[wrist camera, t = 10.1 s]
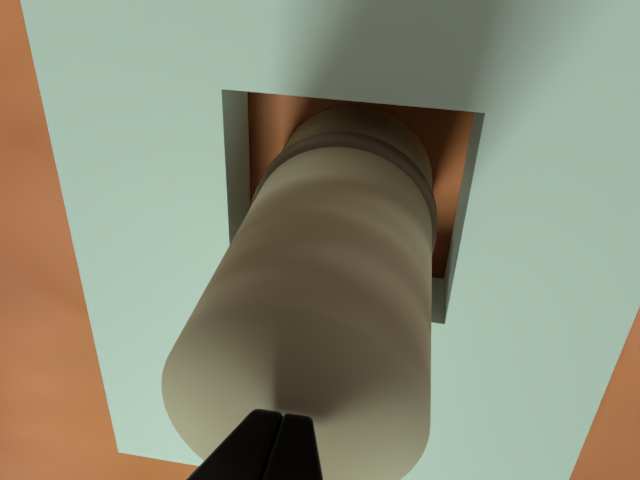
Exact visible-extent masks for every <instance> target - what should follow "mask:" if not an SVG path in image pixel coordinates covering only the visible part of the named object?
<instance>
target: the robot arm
mask: <svg viewBox="0 0 640 480" xmlns="http://www.w3.org/2000/svg"><path fill="white" fill-rule="evenodd" d="M187 480H323V475H322V469H321V464H320V458H319V452H318V447H317V441H316V435H315V430H314V424H313V420H312V418H310V417H309V416H303V415H297V414H290V413H287V414H285V415H284V416H282V414H281V413H280V412H278V411H271V410H265V409H255V410H253V411H251V412H250V413H249V414H248V415H247V416H246V417H245V418H244V420H243V421H242V422H241V423H240V424H239V425H238V426H237V427H236V428H235V429H234V430H233V431H232V432H231V433H230V434H229V435H228V436H227V437H226V438H225V440H224V441H223V442H222V443H221V444H220V445H219V446H218V447H217V448H216V449H215V450H214V451H213V452H212V453H211V454H210V455H209V456H208V457H207V458H206V460H205V461H204V462H203V463H202V464H201V465H200V466H199V467H198V468H197V469H196V470H195V471H194V472H193V473H192V474H191V475H190V476H189V477H188V478H187Z"/></svg>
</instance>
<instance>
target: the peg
mask: <svg viewBox="0 0 640 480" xmlns="http://www.w3.org/2000/svg"><path fill="white" fill-rule="evenodd" d="M432 183H433V179H432V168H431V163H430V159H429V157H428V154H427V151H426V149H425V148H424V146H423V144H422V142H421V141H420V139H419V138H418V137H417V135H416V134H415V133H414V132H413V131H412V130H411V129H410V128H409V127H408V126H407V125H405V124H404V123H403V122H402V121H400V120H399V119H397V118H395V117H394V116H392V115H390V114H388V113H386V112H383V111H381V110H378V109H374V108H371V107H364V106H340V107H335V108H331V109H327V110H325V111H322V112H319V113H317V114H316V115H314V116H312V117H310V118H309V119H307V120H306V121H305V122H303V123H302V124H301V125H300V126H299V127H298V128H297V129H296V130H295V131H294V133H293V134H292V135H291V137H290V138H289V140H288V141H287V143H286V145H285V147H284V149H283V150H282V152H281V153H280V154H279V155H278V156H277V157H276V158H275V159H274V160H273V162H272V163H271V164H270V166H269V167H268V168H267V170H266V172H265V173H264V175H263V177H262V179H261V180H260V182H259V184H258V186H257V188H256V190H255V193H254V196H253V198H252V203H251V208H250V210H249V211H248V213H247V215H246V217H245V219H244V220H243V222H242V224H241V226H240V228H239V229H238V231H237V233H236V235H235V237H234V238H233V240H232V242H231V244H230V246H229V247H228V249H227V251H226V253H225V255H224V256H223V258H222V260H221V262H220V264H219V265H218V267H217V269H216V271H215V273H214V274H213V276H212V278H211V280H210V282H209V283H208V285H207V287H206V289H205V290H204V292H203V294H202V296H201V298H200V299H199V301H198V303H197V305H196V307H195V308H194V310H193V312H192V314H191V316H190V317H189V319H188V321H187V323H186V325H185V326H184V328H183V330H182V332H181V334H180V335H179V337H178V339H177V341H176V343H175V344H174V346H173V348H172V350H171V352H170V353H169V355H168V357H167V359H166V362H165V365H164V368H163V373H162V381H161V386H162V397H163V401H164V405H165V409H166V411H167V414H168V416H169V419H170V421H171V422H172V424H173V426H174V428H175V429H176V431H177V432H178V434H179V435H180V436H181V438H182V439H183V440H184V442H185V443H186V444H187V445H188V446H189V447H190V448H191V449H192V450H193V451H194V453H196V454H197V455H198V456H199V457H200V458H201V459H203V460H204V461H205V460H206V458H207V457H208V456H209V455H210V454H211V453H212V452H213V451H214V450H215V449H216V448H217V447H218V446H219V445H220V444H221V443H222V442H223V441H224V440H225V438H226V437H227V436H228V435H229V434H230V433H231V432H232V431H233V430H234V429H235V428H236V427H237V426H238V425H239V424H240V423H241V422H242V421H243V420H244V418H245V417H246V416H247V415H248V414H249V413H250V412H251V411H253V410H255V409H265V410H271V411H278V412H280V413H281V414H282V416H284V415H285V414H287V413H290V414H297V415H303V416H309V417H310V418H312V420H313V424H314V430H315V435H316V441H317V447H318V452H319V458H320V464H321V469H322V475H323V480H400V479H402V478H403V477H404V476H405V475H406V474H408V473H409V472H410V471H411V470H412V469H413V468H414V466H415V465H416V464H417V462H418V461H419V460H420V458H421V456H422V454H423V453H424V451H425V449H426V446H427V442H428V439H429V434H430V424H431V304H432V254H433V251H434V247H435V243H436V234H437V214H436V204H435V200H434V195H433V193H432Z"/></svg>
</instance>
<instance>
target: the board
mask: <svg viewBox="0 0 640 480" xmlns="http://www.w3.org/2000/svg"><path fill="white" fill-rule="evenodd" d="M20 1H21V6H22V11H23V15H24V20H25V24H26V29H27V34H28V38H29V43H30V47H31V52H32V57H33V61H34V66H35V70H36V75H37V80H38V84H39V89H40V93H41V98H42V103H43V107H44V112H45V116H46V121H47V126H48V130H49V135H50V139H51V144H52V149H53V153H54V158H55V162H56V167H57V172H58V176H59V181H60V185H61V190H62V195H63V199H64V204H65V208H66V213H67V218H68V222H69V227H70V231H71V236H72V241H73V245H74V250H75V254H76V259H77V264H78V268H79V273H80V277H81V282H82V287H83V291H84V296H85V300H86V305H87V310H88V314H89V319H90V323H91V328H92V333H93V337H94V342H95V346H96V351H97V356H98V360H99V365H100V369H101V374H102V379H103V383H104V388H105V392H106V397H107V402H108V406H109V411H110V415H111V420H112V425H113V429H114V434H115V438H116V443H117V448H118V452H120V453H126V454H131V455H137V456H143V457H149V458H155V459H161V460H167V461H172V462H178V463H184V464H190V465H196V466H200V465H201V464H202V463H203V462H204V460H203V459H201V458H200V457H199V456H198V455H197V454H196V453H194V451H193V450H192V449H191V448H190V447H189V446H188V445H187V444H186V443H185V442H184V440H183V439H182V438H181V436H180V435H179V434H178V432H177V431H176V429H175V428H174V426H173V424H172V422H171V421H170V419H169V416H168V414H167V411H166V409H165V405H164V401H163V397H162V386H161V381H162V373H163V368H164V365H165V362H166V359H167V357H168V355H169V353H170V352H171V350H172V348H173V346H174V344H175V343H176V341H177V339H178V337H179V335H180V334H181V332H182V330H183V328H184V326H185V325H186V323H187V321H188V319H189V317H190V316H191V314H192V312H193V310H194V308H195V307H196V305H197V303H198V301H199V299H200V298H201V296H202V294H203V292H204V290H205V289H206V287H207V285H208V283H209V282H210V280H211V278H212V276H213V274H214V273H215V271H216V269H217V267H218V265H219V264H220V262H221V260H222V258H223V256H224V255H225V253H226V251H227V249H228V247H229V246H230V244H231V242H232V240H233V238H234V237H235V235H236V233H237V231H238V229H239V228H240V226H241V224H242V222H243V220H244V219H245V217H246V215H247V213H248V211H249V210H250V208H251V195H250V160H249V125H248V92H257V93H269V94H280V95H291V96H302V97H313V98H324V99H335V100H346V101H357V102H369V103H380V104H391V105H402V106H413V107H424V108H435V109H446V110H457V111H469V112H474V115H473V121H472V126H471V132H470V137H469V143H468V148H467V154H466V159H465V165H464V170H463V176H462V181H461V187H460V193H459V198H458V204H457V209H456V215H455V220H454V226H453V231H452V237H451V242H450V248H449V253H448V259H447V264H446V270H445V276H444V279H443V278H435V277H432V304H431V424H430V434H429V439H428V442H427V446H426V449H425V451H424V453H423V454H422V456H421V458H420V460H419V461H418V462H417V464H416V465H415V466H414V468H413V469H412V470H411V471H410V472H409V473H408V474H406V475H405V476H404V477H403V478H402V479H400V480H569V478H570V476H571V473H572V471H573V468H574V466H575V464H576V461H577V459H578V456H579V454H580V451H581V449H582V446H583V444H584V441H585V439H586V437H587V434H588V432H589V429H590V427H591V424H592V422H593V419H594V417H595V415H596V412H597V410H598V407H599V405H600V402H601V400H602V397H603V395H604V392H605V390H606V388H607V385H608V383H609V380H610V378H611V375H612V373H613V370H614V368H615V365H616V363H617V361H618V358H619V356H620V353H621V351H622V348H623V346H624V343H625V341H626V338H627V336H628V334H629V331H630V329H631V326H632V324H633V321H634V319H635V316H636V314H637V311H638V309H639V307H640V0H20Z"/></svg>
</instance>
